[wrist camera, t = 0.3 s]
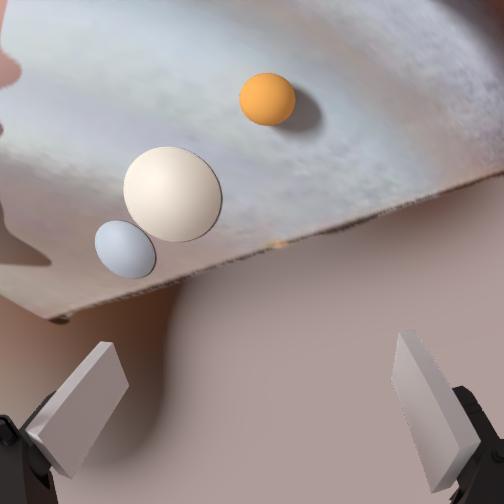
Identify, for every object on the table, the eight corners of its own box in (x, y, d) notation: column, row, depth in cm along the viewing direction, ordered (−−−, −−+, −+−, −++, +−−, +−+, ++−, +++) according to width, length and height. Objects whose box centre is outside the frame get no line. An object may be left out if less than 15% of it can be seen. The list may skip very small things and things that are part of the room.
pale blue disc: (114, 206, 39) (113, 207, 39) (168, 253, 42) (167, 253, 42) (86, 248, 43) (85, 249, 43) (134, 288, 46) (133, 289, 46)
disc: (163, 124, 32) (162, 124, 32) (243, 197, 37) (242, 198, 37) (108, 197, 38) (107, 197, 38) (178, 257, 42) (177, 258, 42)
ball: (268, 63, 28) (266, 60, 23) (304, 99, 30) (309, 103, 25) (232, 97, 30) (223, 101, 26) (268, 131, 32) (265, 141, 27)
